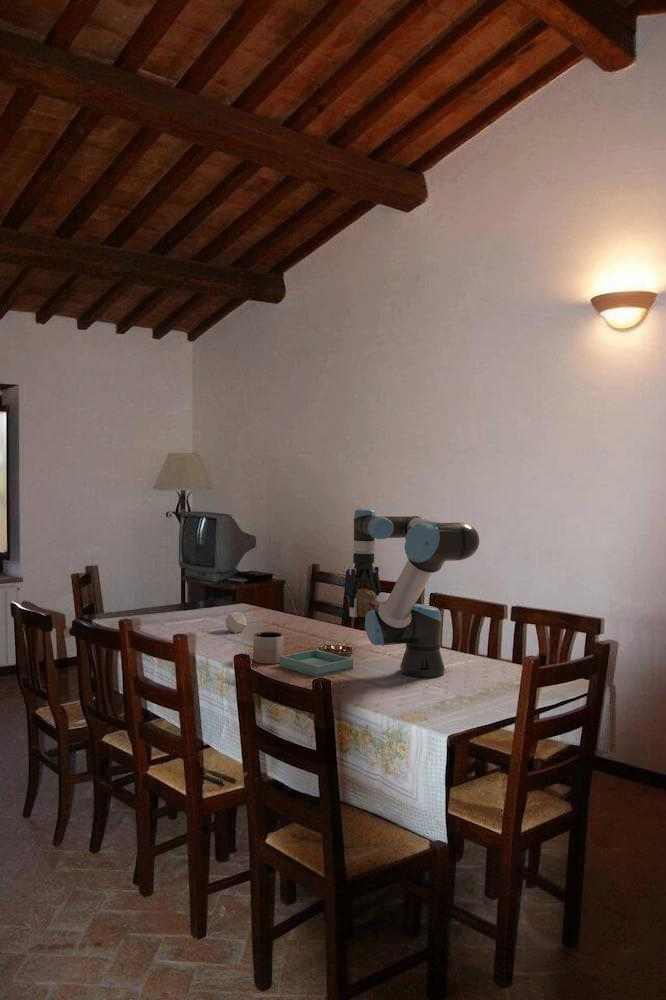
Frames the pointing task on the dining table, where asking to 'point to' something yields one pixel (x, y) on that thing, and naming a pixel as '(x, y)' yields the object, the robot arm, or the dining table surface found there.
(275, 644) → the planter
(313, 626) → the dining table surface
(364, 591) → the rock
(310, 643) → the dining table surface
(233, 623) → the die
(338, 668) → the glazed dish
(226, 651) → the dining table surface
